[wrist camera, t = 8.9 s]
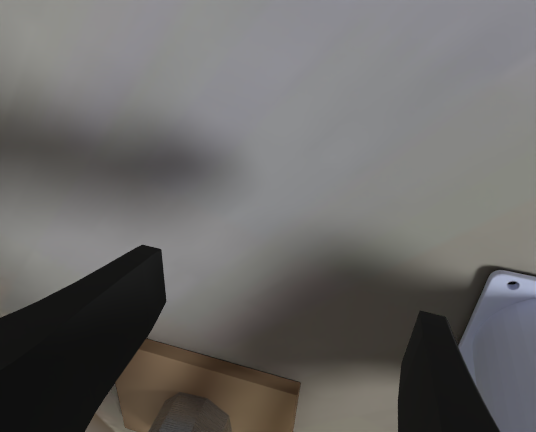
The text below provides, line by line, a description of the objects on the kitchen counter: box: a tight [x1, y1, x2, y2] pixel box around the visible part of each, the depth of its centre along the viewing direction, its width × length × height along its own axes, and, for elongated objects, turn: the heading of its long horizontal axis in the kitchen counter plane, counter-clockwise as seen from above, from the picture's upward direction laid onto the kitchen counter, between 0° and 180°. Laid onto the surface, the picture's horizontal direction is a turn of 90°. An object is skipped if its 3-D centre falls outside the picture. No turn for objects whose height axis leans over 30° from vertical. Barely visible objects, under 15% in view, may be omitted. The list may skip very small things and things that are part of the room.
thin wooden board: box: [115, 339, 301, 432], centre depth 32 cm, size 14×11×4 cm
